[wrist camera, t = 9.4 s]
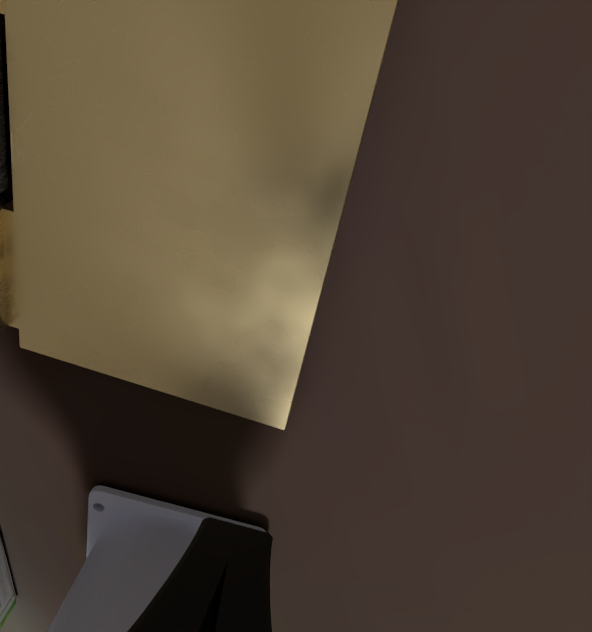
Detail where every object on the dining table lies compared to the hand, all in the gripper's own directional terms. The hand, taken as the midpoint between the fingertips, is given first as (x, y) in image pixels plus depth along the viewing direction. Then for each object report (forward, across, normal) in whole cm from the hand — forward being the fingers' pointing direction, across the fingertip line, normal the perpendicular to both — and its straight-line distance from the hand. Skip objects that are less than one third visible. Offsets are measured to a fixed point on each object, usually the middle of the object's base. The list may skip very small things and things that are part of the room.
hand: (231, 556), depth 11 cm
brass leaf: (+9, +6, -5) cm, 12 cm away
